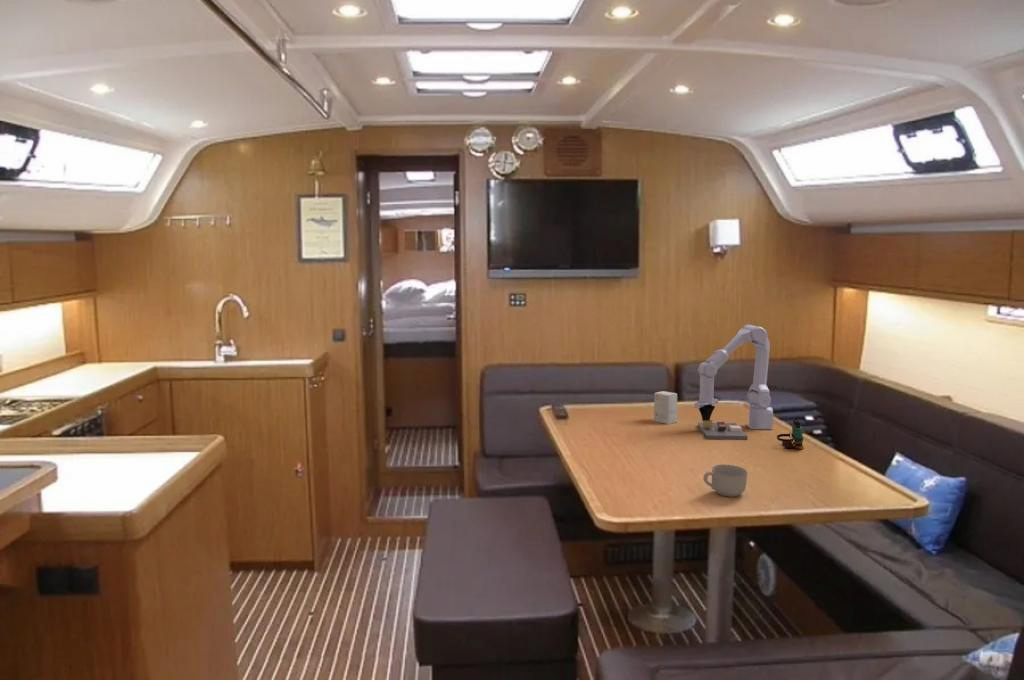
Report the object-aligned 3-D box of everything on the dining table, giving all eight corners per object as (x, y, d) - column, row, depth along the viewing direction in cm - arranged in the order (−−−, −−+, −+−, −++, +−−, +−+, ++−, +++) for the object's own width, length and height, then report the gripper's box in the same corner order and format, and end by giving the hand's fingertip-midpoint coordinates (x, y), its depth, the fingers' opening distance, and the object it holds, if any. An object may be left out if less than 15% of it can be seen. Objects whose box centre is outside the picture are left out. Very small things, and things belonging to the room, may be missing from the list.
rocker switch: (723, 424, 310) (724, 421, 310) (726, 429, 306) (726, 426, 305) (717, 424, 310) (717, 421, 310) (719, 429, 306) (719, 426, 305)
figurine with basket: (774, 419, 292) (801, 417, 290) (776, 445, 293) (803, 444, 291) (777, 424, 283) (805, 422, 281) (779, 451, 284) (807, 450, 282)
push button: (739, 430, 310) (739, 425, 309) (741, 432, 305) (741, 428, 305) (728, 430, 310) (728, 425, 310) (730, 432, 306) (730, 427, 306)
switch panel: (735, 426, 320) (735, 420, 320) (747, 439, 299) (747, 433, 298) (697, 425, 322) (698, 420, 322) (706, 439, 300) (706, 432, 300)
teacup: (740, 488, 239) (740, 463, 238) (751, 499, 229) (752, 474, 228) (697, 488, 239) (697, 464, 238) (706, 500, 228) (707, 474, 227)
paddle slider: (711, 426, 312) (711, 419, 311) (712, 428, 310) (712, 420, 309) (701, 426, 312) (701, 419, 312) (702, 427, 310) (702, 420, 310)
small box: (677, 422, 329) (677, 393, 327) (668, 424, 325) (668, 395, 323) (662, 419, 335) (663, 390, 333) (653, 421, 331) (654, 392, 329)
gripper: (705, 394, 304) (704, 427, 306) (724, 389, 313) (723, 421, 315) (690, 392, 309) (689, 424, 311) (710, 387, 319) (709, 418, 320)
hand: (705, 422), depth 313 cm, fingers closed
